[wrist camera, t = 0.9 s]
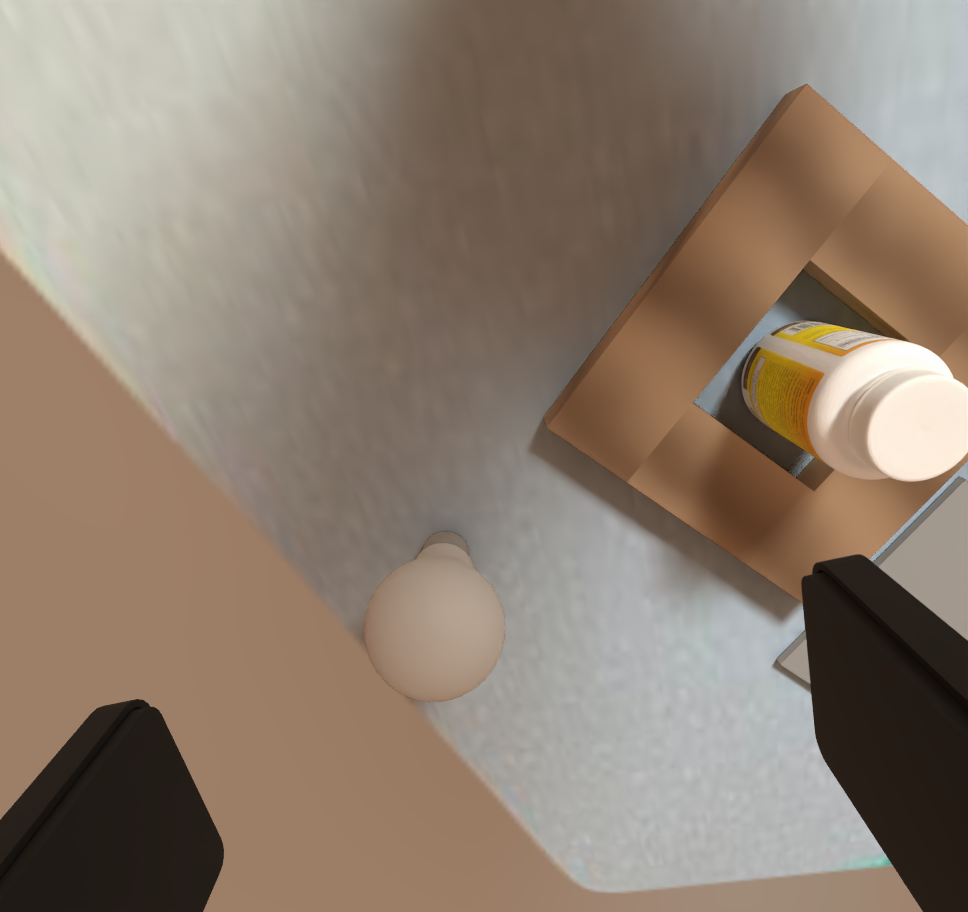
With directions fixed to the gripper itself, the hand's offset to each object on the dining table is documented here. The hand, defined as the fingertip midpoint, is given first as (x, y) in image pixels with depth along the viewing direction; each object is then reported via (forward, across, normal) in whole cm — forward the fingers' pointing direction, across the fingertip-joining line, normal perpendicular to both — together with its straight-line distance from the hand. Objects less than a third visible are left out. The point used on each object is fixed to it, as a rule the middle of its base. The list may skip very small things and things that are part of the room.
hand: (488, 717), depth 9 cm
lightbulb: (+25, +4, +9) cm, 27 cm away
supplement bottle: (+25, -15, +3) cm, 29 cm away
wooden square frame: (+24, -15, +3) cm, 29 cm away
